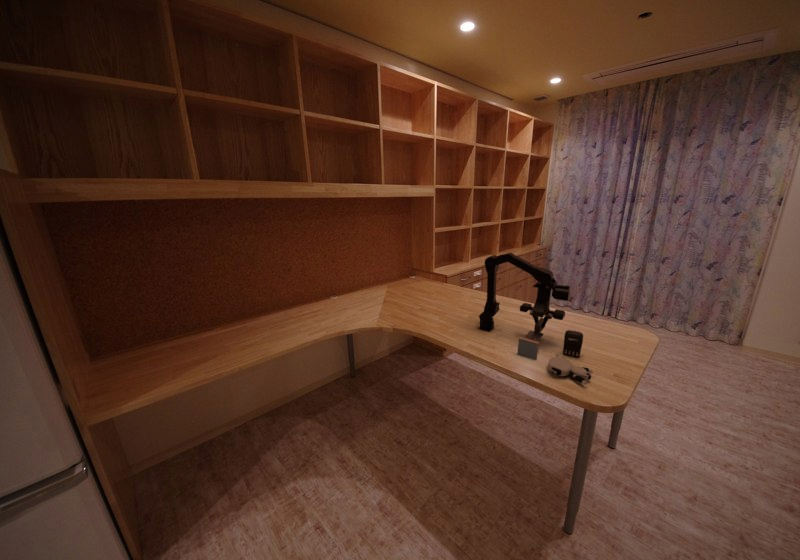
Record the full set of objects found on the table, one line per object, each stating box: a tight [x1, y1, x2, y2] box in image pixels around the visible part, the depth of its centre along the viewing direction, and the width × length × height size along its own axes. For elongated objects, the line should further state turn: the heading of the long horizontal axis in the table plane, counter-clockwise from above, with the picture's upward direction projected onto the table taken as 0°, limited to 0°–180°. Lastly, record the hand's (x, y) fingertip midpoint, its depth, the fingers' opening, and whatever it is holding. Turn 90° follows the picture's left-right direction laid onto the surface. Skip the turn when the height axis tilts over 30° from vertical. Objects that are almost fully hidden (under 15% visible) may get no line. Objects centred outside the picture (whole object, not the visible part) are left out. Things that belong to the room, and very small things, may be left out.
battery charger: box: [562, 329, 584, 359], centre depth 127 cm, size 7×4×11 cm, turn 57°
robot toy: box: [545, 353, 594, 386], centre depth 115 cm, size 12×4×15 cm
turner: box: [524, 317, 546, 342], centre depth 137 cm, size 6×17×4 cm, turn 140°
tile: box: [517, 336, 540, 361], centre depth 128 cm, size 8×1×8 cm, turn 50°
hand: (539, 327), depth 140 cm, fingers closed on turner, 2 cm apart
